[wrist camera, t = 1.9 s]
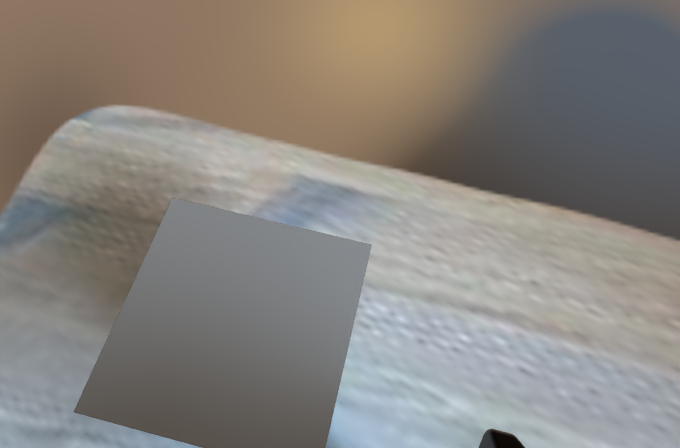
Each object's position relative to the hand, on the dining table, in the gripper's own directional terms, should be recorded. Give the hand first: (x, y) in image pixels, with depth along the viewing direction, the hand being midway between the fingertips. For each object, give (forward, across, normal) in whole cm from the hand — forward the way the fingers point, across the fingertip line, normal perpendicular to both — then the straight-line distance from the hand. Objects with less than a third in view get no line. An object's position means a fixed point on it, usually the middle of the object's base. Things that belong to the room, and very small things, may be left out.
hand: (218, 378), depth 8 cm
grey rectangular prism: (+7, 0, +6) cm, 9 cm away
